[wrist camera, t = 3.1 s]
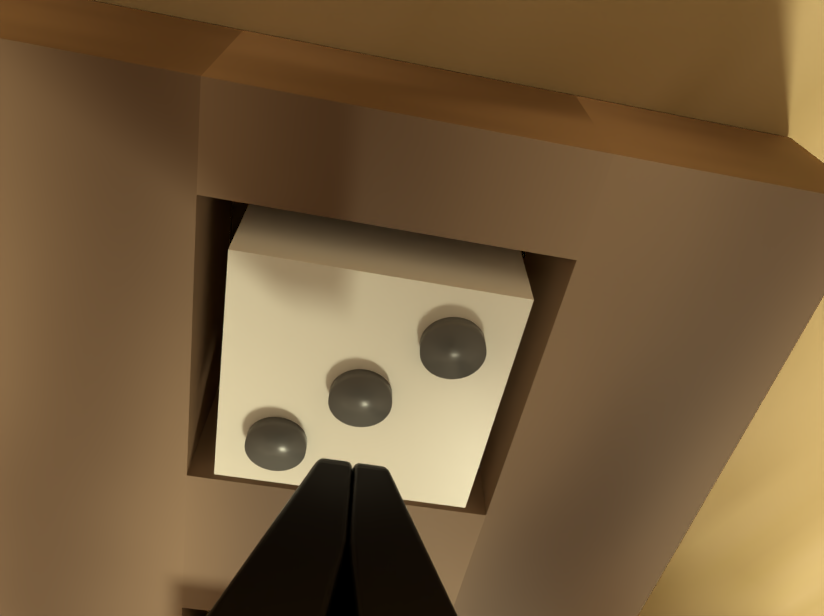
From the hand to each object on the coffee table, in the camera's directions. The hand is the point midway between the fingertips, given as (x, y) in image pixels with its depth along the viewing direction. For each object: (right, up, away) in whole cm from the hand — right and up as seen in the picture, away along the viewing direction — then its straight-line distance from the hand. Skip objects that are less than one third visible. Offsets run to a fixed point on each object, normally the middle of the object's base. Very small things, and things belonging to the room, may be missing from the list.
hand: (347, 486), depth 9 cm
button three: (0, +2, +4) cm, 4 cm away
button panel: (-2, -5, +9) cm, 10 cm away
